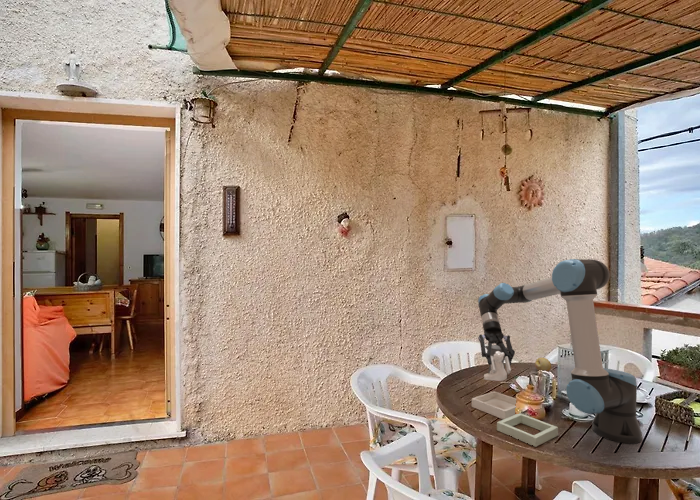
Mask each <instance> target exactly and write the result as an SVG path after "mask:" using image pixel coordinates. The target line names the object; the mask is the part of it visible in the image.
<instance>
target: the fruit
mask: <svg viewBox="0 0 700 500" xmlns="http://www.w3.org/2000/svg"><path fill="white" fill-rule="evenodd" d="M534 367H535V368H536V369H537V371H539V370H546V371H547V372H549V371H550V370H551V369H552V364H551V361H550V359H548V358H546V357H538V358H537V359H536V360H535V362H534Z"/></svg>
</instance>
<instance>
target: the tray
mask: <svg viewBox="0 0 700 500" xmlns="http://www.w3.org/2000/svg"><path fill="white" fill-rule="evenodd" d="M516 399H517V398H515V397H512V396H511V395H506V394H503V393H501V392H499V391H495V390H493V391H490V392H488V393H485V394H481V395H478V396H475V397H472V398H471V407H472V408H474V409H477V410H479V411H481V412H483V413H487V414H489V415H492V416H494V417H496V418H499V419H501V420H504V419H506V418H509V417H511V416H514V415H516V414H515V408H516V406H515V404H516Z"/></svg>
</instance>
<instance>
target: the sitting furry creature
mask: <svg viewBox="0 0 700 500" xmlns="http://www.w3.org/2000/svg"><path fill="white" fill-rule="evenodd" d="M503 356H504V352H503V353H501V352H500V351H496V352H495V354H494V356H493V361H494V366H495V372H494V373H492V370H491V371H490V373H484V374H483V380H485V381H496V382H498V381H499V382H503V381H505V380H507V378H508V373H507V370H506V368H505V369H504V365H505V364H504V365H503V363H502V362H501V361H502V360H503V358H504V357H503Z"/></svg>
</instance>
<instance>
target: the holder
mask: <svg viewBox="0 0 700 500" xmlns="http://www.w3.org/2000/svg"><path fill="white" fill-rule="evenodd" d="M519 424H523V425H525V426H528V427H530V428H533V429H536V430H539V431H540V432H538V433H536V434H531V433H529V432H526V431H524V430H522V429H519V428H517V427H516V426H518V425H519ZM496 431H498V432H501V434H505V435H507V436H509V435H510V436H509V437H511V436H512V438H513V439H516V440H518V439H519V441H521V442H523V443H525V444H527V443H528V444H527V445H530V446H532V445H533V446H532V447H535V448H536V447H538V446H540V445H542V444H545V443H546V442H549V441H550V440H552V439H554V438H556V437H557V436H559V427H558V426H557V425H553V424H550V423H548V422H545V421H542V420H539V419H537V418H534V417H532V416H528V415H526V414H524V413H519V414H516V415H514V416H511V417H509V418H506V419H501V420H499V421H497V422H496Z"/></svg>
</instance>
